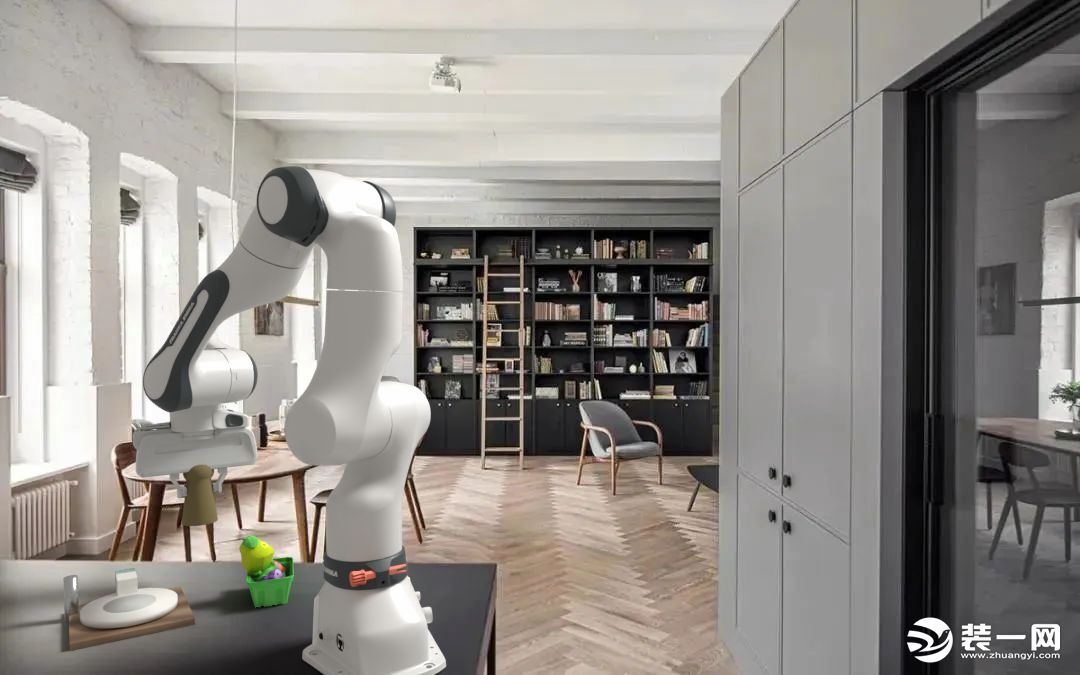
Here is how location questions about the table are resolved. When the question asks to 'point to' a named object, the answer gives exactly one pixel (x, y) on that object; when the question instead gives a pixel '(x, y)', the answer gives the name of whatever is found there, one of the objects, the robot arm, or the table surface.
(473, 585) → the table surface
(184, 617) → the wooden board
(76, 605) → the dowel
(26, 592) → the table surface
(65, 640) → the table surface
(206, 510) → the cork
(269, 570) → the fruit basket
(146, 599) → the white oval plate
